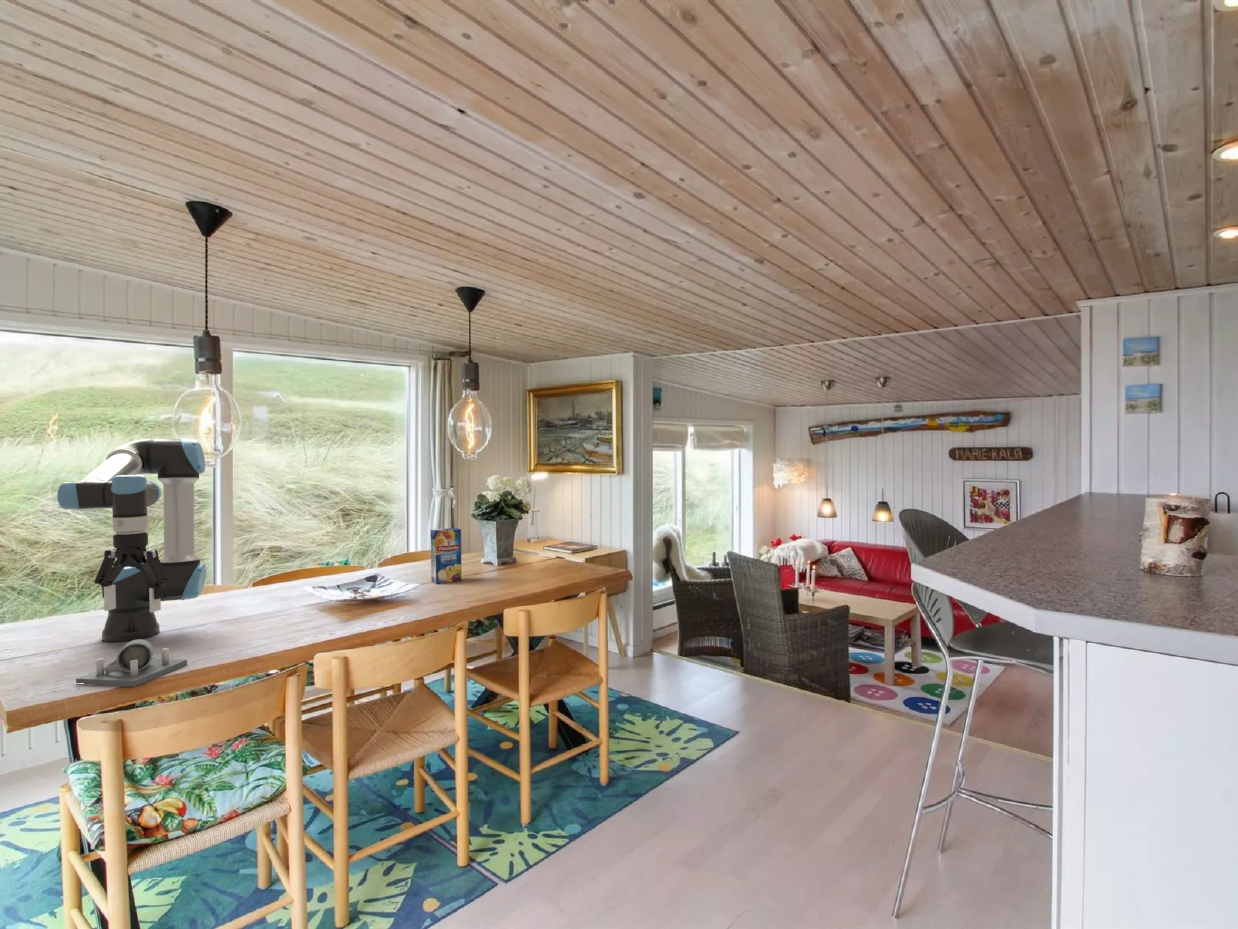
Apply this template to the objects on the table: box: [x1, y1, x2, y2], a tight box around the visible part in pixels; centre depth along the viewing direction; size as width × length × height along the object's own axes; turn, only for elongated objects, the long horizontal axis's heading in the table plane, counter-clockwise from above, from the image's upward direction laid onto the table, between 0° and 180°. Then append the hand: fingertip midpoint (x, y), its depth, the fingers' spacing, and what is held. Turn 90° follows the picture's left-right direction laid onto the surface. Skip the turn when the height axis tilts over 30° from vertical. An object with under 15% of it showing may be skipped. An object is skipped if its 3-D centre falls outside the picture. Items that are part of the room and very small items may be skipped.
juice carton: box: [430, 527, 463, 585], centre depth 296 cm, size 12×8×24 cm, turn 123°
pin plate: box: [75, 647, 188, 688], centre depth 174 cm, size 17×17×6 cm
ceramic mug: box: [104, 638, 154, 673], centre depth 174 cm, size 11×8×8 cm
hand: (132, 610), depth 174 cm, fingers open, 13 cm apart
